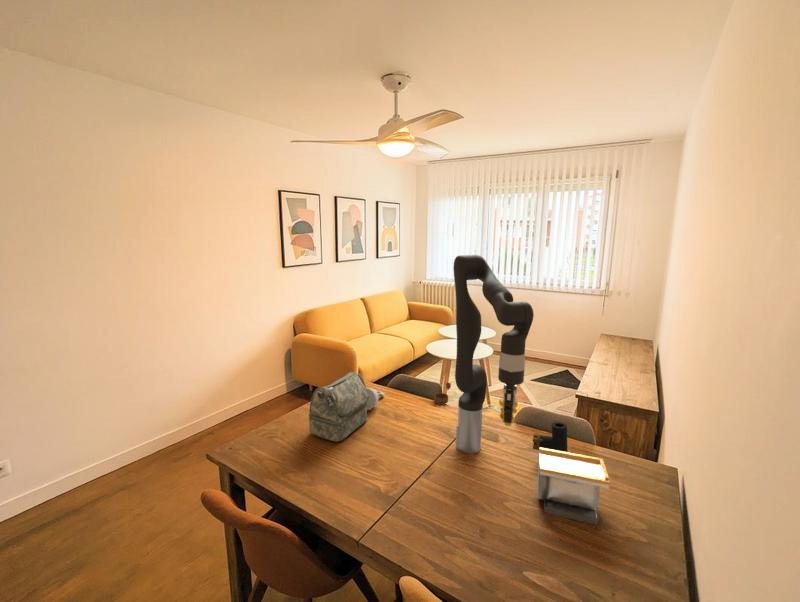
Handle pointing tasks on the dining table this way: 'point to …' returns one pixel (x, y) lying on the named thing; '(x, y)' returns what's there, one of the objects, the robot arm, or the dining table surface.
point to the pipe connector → (553, 438)
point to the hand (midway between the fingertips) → (508, 417)
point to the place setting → (442, 396)
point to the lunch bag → (339, 408)
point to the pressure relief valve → (504, 411)
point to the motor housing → (570, 484)
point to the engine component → (373, 397)
